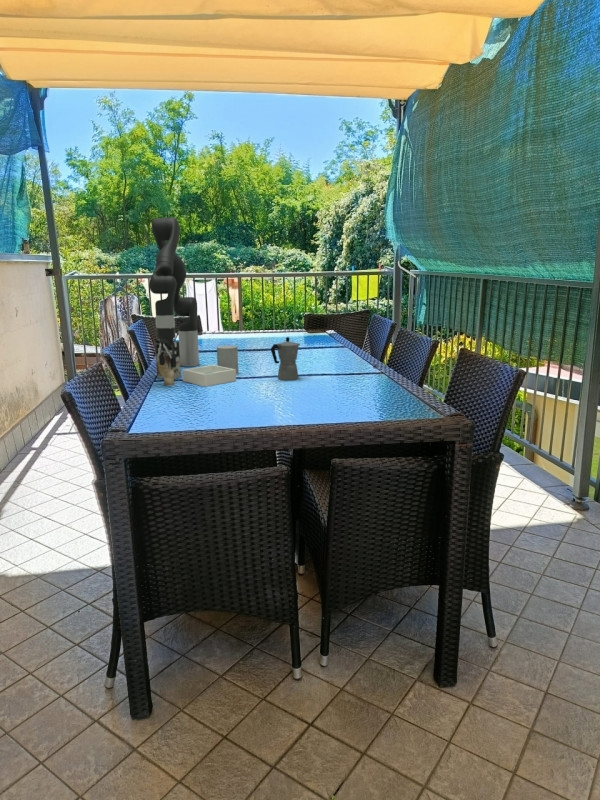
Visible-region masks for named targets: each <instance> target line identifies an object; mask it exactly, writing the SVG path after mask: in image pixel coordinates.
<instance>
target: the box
mask: <svg viewBox="0 0 600 800" xmlns="http://www.w3.org/2000/svg"><path fill="white" fill-rule="evenodd" d="M182 382H185V383H189V384H194V385H196V386H201V387H205V388H206V387H210V386H216V385H221V384H227V383H228V384H229V383H233V382H237V375H236V369H231V368H226V367H221V366H217V364H215V365H214V364H210V365H205V366H195V367H192V368H191V367H190V368H183V369H182Z"/></svg>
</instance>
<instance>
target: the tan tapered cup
mask: <svg viewBox="0 0 600 800" xmlns="http://www.w3.org/2000/svg"><path fill="white" fill-rule="evenodd" d="M163 372H164V379H163V385H164V386H167V387H169V386H170V387H171V386H175V379H174V372H173V370H164V371H163Z"/></svg>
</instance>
